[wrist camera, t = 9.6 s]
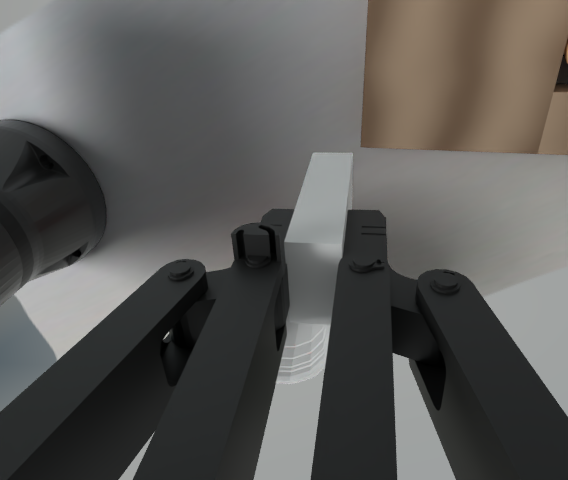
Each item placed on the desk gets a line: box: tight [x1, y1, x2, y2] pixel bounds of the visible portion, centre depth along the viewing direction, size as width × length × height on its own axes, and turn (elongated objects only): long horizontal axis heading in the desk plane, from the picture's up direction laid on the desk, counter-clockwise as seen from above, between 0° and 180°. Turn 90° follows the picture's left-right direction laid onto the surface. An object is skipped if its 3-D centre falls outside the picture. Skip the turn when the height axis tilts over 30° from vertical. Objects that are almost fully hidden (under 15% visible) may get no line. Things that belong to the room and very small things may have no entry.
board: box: [361, 0, 568, 155], centre depth 30 cm, size 20×14×2 cm
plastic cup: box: [276, 311, 330, 384], centre depth 38 cm, size 11×11×12 cm
